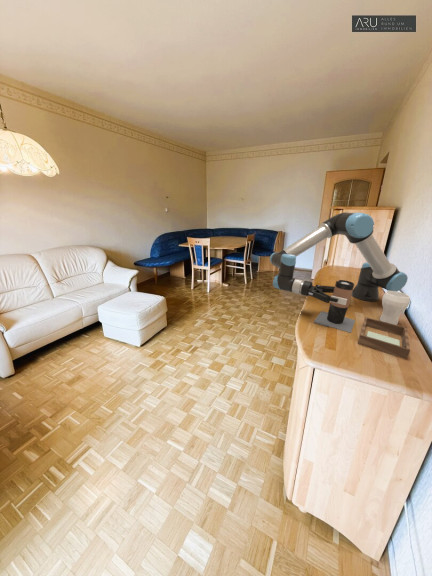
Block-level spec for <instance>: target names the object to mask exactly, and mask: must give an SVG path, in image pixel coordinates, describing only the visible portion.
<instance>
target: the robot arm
mask: <svg viewBox="0 0 432 576" xmlns="http://www.w3.org/2000/svg"><path fill="white" fill-rule="evenodd" d="M374 225H375V221H374V219H373V217H372V216H371V215H369V214H367V213H364V212H340V213H337V214H335V215H333V216H331V217H330V218H328V219H326V220H325V221H323V222H322V223H320V224H319V227H317V228H316V229H314V230H312V231H310V232H309V233H308V234H306V235H304V236H302V237H301V238H300V239H298V240H297V241H295V242H293V243H292V244H290V245H288V246H287V247H285V248H284V249H282V250H280V251H278V252H277V251H275V252H273V253H272V254H270V256H269V263H271V265H273V267H276V268H278V269H279V271H278V274H276V275H275V276H274V277H273V280H272V287H274V288H275V289H278V290H280V291H286V292H289V293H294V295H297V294H298V295H302V296H306V297H312V298H314V299H317V300H320V301H322V302H324V303H326V304H330V303H331V302H334V303H338V304H342V305H346V302H347V299H344V298H340V297H335V296H332V295H329V293H330V294H333V292H334V288H335V286H332V285H322V284H321V285H320V284H315V285H313V282H312V281H309V280H303V279H301V278H300V279H299V278H294V273H295V266H296V263H297V257H298V256H300V255H301V254H303V253H305V252H306V251H307V250H310V249H311V248H313V247H314V246H316V245H317V244H319V243H321V242H323V241H324V240H325V239H327V238H328V239H330V238H332V237H334V236H337V235H341V236H345V237H346V239H347V240H348V242H349V243H350V244H353V245H355V246H356V247H357V249H358V250H359V252H360V254H361V255H362V257H363V258H364V260H365V261H366V262H364V263H362V265H361V267H360V270H359V271H360V272H359V276H358V280H357V284H356V285H355V286H354V287H353V291H352V295H351V297H353V298H355V299H357V298H358V300H361V301H366V302H378V301H379V298H380V293H379V288H381V289H383V290H386V291H396V292H400V290H402V289H404V287H405V286H406V285H407V282H408V278H409V277H408V275H407V274H406V273H405V272H402V271H399V269H398V267H397V266H396V264H394V263H391V262H390V261H389V259H388V257H387V256H386V254H385V252H384V251H383V249H382V248H381V246H380V244H379V243H378V242H377V240H376V239H375V237H374V235H373V234H374V228H375V227H374ZM327 293H328V294H327Z"/></svg>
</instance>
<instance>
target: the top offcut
mask: <svg viewBox="0 0 432 576" xmlns="http://www.w3.org/2000/svg"><path fill="white" fill-rule="evenodd" d="M366 334H367V336H368V337H371V338H375V339H378V340H381V341H385V342H388V343H391V344H395V345H398V346H400V343H401V342H400V341H401V340H400V339H396V338H393V337H390V336H387V335H384V334H380V333H377V332H373V331H370V330H367V333H366Z"/></svg>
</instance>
